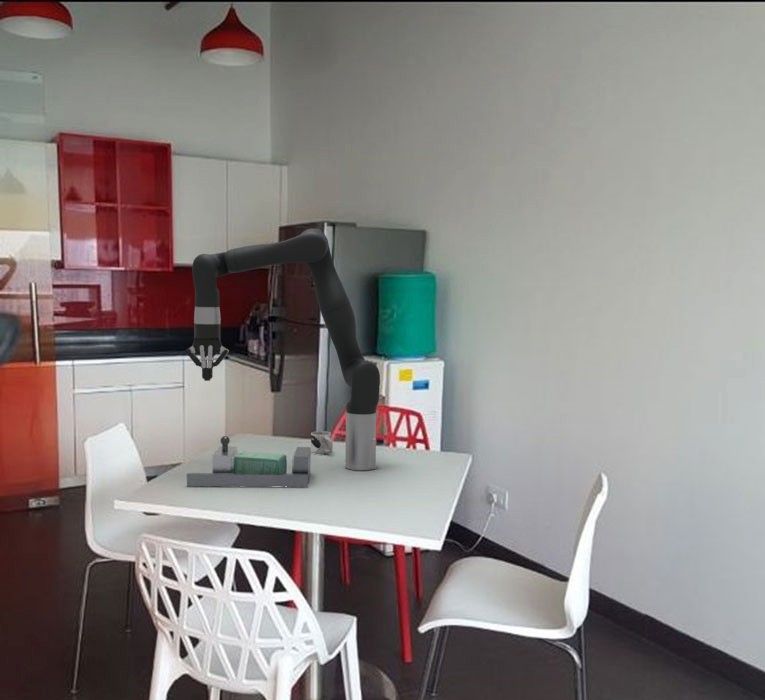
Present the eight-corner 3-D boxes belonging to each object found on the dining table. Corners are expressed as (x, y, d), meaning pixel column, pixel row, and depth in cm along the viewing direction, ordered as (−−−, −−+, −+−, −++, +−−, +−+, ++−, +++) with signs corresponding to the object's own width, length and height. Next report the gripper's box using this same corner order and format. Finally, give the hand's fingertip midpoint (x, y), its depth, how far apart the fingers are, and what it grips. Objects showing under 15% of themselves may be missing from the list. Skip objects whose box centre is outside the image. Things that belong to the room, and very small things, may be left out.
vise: (310, 473, 217) (310, 447, 216) (307, 487, 202) (307, 459, 201) (198, 472, 215) (198, 446, 214) (186, 486, 200) (186, 458, 199)
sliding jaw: (238, 473, 215) (239, 432, 214) (232, 483, 204) (232, 440, 203) (219, 473, 215) (219, 431, 214) (212, 483, 204) (212, 440, 202)
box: (279, 485, 204) (279, 458, 203) (233, 482, 206) (233, 456, 206) (287, 478, 211) (287, 453, 210) (242, 475, 213) (242, 450, 213)
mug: (307, 451, 245) (307, 432, 244) (323, 449, 248) (324, 430, 248) (322, 457, 237) (323, 437, 236) (339, 455, 241) (340, 435, 240)
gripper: (181, 322, 211) (182, 381, 213) (227, 323, 212) (227, 382, 213) (187, 321, 218) (187, 378, 220) (231, 322, 219) (231, 379, 221)
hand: (207, 380), depth 217 cm, fingers closed
